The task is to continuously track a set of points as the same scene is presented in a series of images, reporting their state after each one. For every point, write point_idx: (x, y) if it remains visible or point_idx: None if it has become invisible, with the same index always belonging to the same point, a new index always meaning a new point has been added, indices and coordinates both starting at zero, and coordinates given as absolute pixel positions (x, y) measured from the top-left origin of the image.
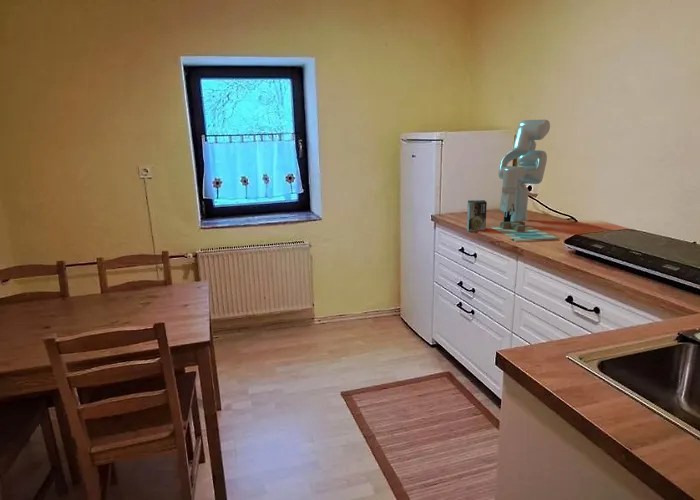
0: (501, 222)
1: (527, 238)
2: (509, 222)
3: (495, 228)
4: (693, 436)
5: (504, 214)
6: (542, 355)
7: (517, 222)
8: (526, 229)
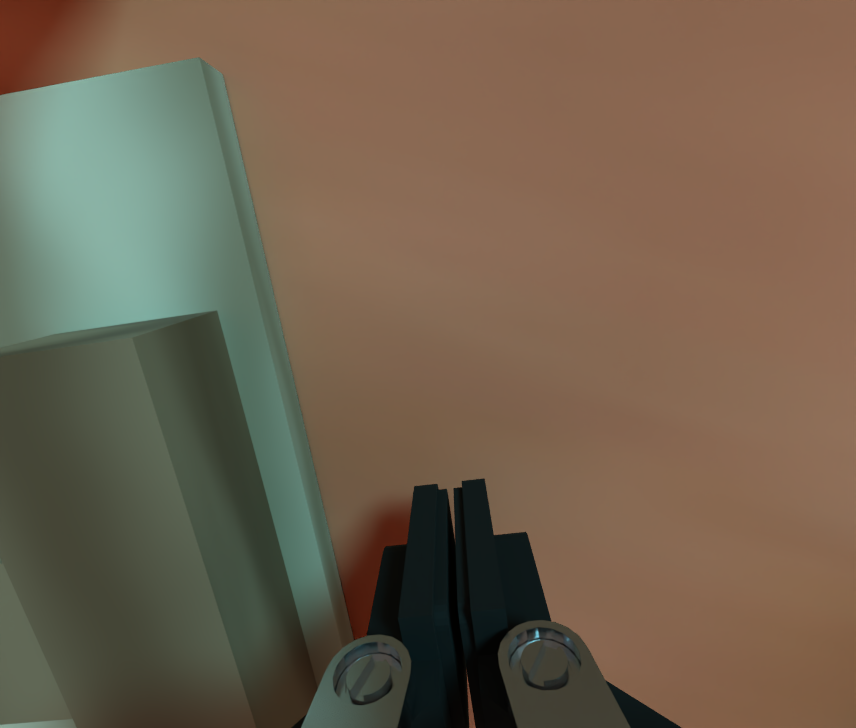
0: (62, 348)
1: None
2: (96, 559)
3: (73, 160)
4: None
5: (531, 691)
6: None
7: (123, 724)
8: None
